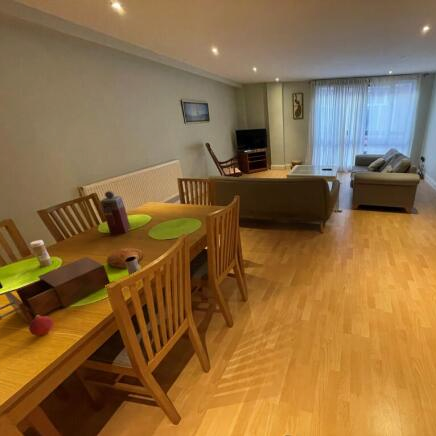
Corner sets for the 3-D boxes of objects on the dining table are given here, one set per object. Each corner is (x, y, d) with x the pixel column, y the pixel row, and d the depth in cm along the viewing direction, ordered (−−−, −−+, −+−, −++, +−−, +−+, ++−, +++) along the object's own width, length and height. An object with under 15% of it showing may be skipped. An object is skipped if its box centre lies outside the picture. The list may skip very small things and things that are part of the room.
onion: (37, 343, 80) (27, 325, 77) (31, 335, 83) (21, 318, 80) (59, 331, 85) (50, 313, 81) (53, 324, 87) (45, 307, 84)
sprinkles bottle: (48, 267, 122) (37, 243, 117) (38, 267, 121) (26, 244, 116) (55, 262, 126) (44, 239, 121) (45, 262, 125) (34, 240, 120)
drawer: (6, 336, 82) (-7, 316, 78) (-8, 321, 87) (-20, 302, 84) (80, 297, 99) (72, 280, 96) (65, 288, 105) (57, 271, 101)
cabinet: (64, 309, 94) (54, 287, 90) (48, 297, 101) (37, 276, 97) (111, 285, 108) (103, 264, 104) (93, 275, 115) (86, 256, 110)
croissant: (123, 276, 118) (119, 263, 114) (102, 264, 123) (98, 252, 119) (149, 260, 130) (147, 248, 126) (130, 251, 135) (127, 239, 131)
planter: (137, 273, 116) (131, 255, 112) (143, 276, 114) (138, 257, 110) (128, 279, 112) (122, 260, 108) (135, 281, 110) (129, 262, 106)
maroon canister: (109, 236, 153) (95, 194, 142) (116, 229, 163) (103, 189, 152) (124, 235, 155) (112, 193, 144) (130, 228, 165) (119, 188, 154)
